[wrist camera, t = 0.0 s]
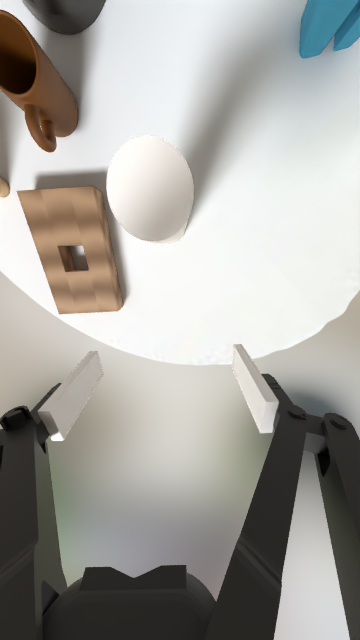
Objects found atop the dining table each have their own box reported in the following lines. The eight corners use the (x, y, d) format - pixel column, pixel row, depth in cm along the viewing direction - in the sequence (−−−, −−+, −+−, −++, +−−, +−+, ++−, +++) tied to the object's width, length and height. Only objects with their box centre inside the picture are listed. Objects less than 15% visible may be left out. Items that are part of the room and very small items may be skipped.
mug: (91, 167, 33) (60, 139, 25) (52, 171, 33) (8, 143, 25) (72, 77, 29) (25, 2, 20) (27, 81, 29) (-38, 9, 20)
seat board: (33, 197, 35) (16, 191, 31) (101, 192, 35) (92, 186, 31) (69, 308, 44) (59, 314, 40) (123, 305, 44) (118, 311, 40)
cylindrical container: (145, 225, 37) (87, 186, 14) (170, 200, 35) (152, 107, 12) (167, 252, 39) (148, 258, 16) (191, 230, 37) (211, 200, 14)
